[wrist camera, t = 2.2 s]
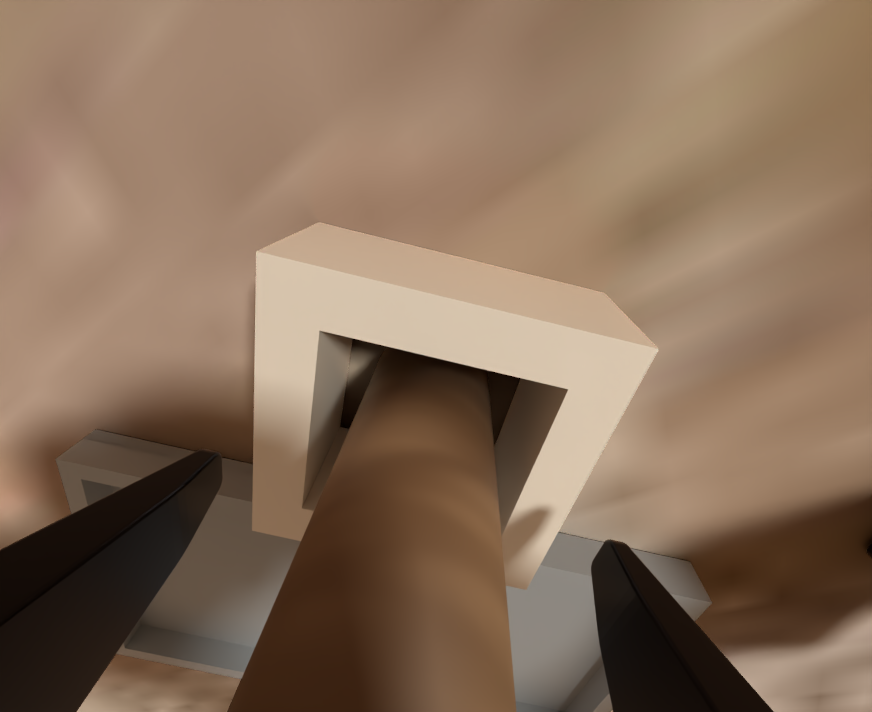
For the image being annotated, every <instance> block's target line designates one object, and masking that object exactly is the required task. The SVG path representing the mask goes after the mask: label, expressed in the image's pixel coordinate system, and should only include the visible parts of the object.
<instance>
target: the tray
mask: <svg viewBox="0 0 872 712" xmlns="http://www.w3.org/2000/svg"><path fill="white" fill-rule="evenodd" d="M194 452H195V451H191V450H186V449H182V448H177V447H173V446H168V445H164V444H159V443H155V442H150V441H146V440H141V439H137V438H132V437H128V436H123V435H119V434H114V433H110V432H105V431H101V430H96V429H95V430H94V431H93V432H91V433H90V434H89V435H87V436H86V437H84V438H83V439H82V440H80V441H79V442H78V443H76V444H75V445H74V446H72V447H71V448H70V449H68V450H67V451H66V452H64V453H63V454H61V455H60V456H59V457H57V458H56V463H57V466H58V470H59V473H60V476H61V480H62V483H63V487H64V490H65V494H66V497H67V501H68V504H69V507H70V511H71V514H72V513H74V512H76V511H78V510H80V509H82V508H84V507H86V506H88V505H90V504H92V503H94V502H96V501H98V500H100V499H102V498H104V497H106V496H108V495H110V494H112V493H114V492H116V491H118V490H120V489H122V488H124V487H126V486H128V485H130V484H132V483H134V482H136V481H138V480H140V479H142V478H144V477H146V476H148V475H150V474H152V473H154V472H156V471H158V470H160V469H162V468H164V467H166V466H168V465H170V464H172V463H174V462H176V461H178V460H180V459H182V458H184V457H186V456H188V455H190V454H192V453H194ZM222 473H223V480H222V484H221V487H220V489H219V491H218V493H217V495H216V497H215V498H214V500H213V502H212V504H211V506H210V508H209V509H208V511H207V513H206V515H205V517H204V519H203V520H202V522H201V524H200V526H199V528H198V530H197V531H196V533H195V535H194V537H193V539H192V541H191V542H190V544H189V546H188V548H187V549H186V551H185V553H184V555H183V556H182V558H181V559H180V561H179V562H178V564H177V565H176V567H175V568H174V570H173V571H172V573H171V574H170V576H169V577H168V578H167V580H166V581H165V583H164V584H163V586H162V587H161V589H160V590H159V592H158V593H157V595H156V596H155V598H154V599H153V600H152V602H151V603H150V605H149V606H148V608H147V609H146V611H145V612H144V614H143V615H142V617H141V618H140V619H139V621H138V622H137V624H136V625H135V627H134V628H133V630H132V631H131V633H130V634H129V636H128V637H127V639H126V640H125V641H124V643H123V644H122V646H121V647H120V649H119V650H118V652H117V653H116V654H119V655H124V656H128V657H133V658H138V659H143V660H148V661H153V662H158V663H163V664H168V665H173V666H178V667H183V668H188V669H193V670H198V671H203V672H208V673H213V674H218V675H223V676H228V677H232V678H237V679H242V676H243V674H244V672H245V669H246V667H247V665H248V662H249V660H250V658H251V655H252V653H253V651H254V649H255V646H256V644H257V642H258V639H259V637H260V635H261V632H262V630H263V628H264V625H265V623H266V621H267V618H268V616H269V614H270V612H271V609H272V607H273V605H274V602H275V600H276V598H277V595H278V593H279V591H280V588H281V586H282V584H283V582H284V579H285V577H286V575H287V572H288V570H289V568H290V565H291V563H292V561H293V558H294V556H295V554H296V551H297V549H298V547H299V545H300V542H301V541H298V540H293V539H288V538H284V537H279V536H274V535H270V534H265V533H261V532H256V531H252V497H253V464H249V463H244V462H240V461H235V460H231V459H226V458H222ZM603 543H604V542H599V541H595V540H590V539H586V538H581V537H577V536H572V535H568V534H563V533H559V532H558V533H557V535H556V537H555V539H554V541H553V542H552V544H551V546H550V548H549V550H548V551H547V553H546V555H545V557H544V559H543V561H542V562H541V564H540V566H539V568H538V570H537V571H536V573H535V575H534V577H533V579H532V581H531V582H530V584H529V586H528V588H527V590H524V589H519V588H515V587H510V586H506V595H507V606H508V618H509V630H510V642H511V653H512V665H513V677H514V688H515V700H516V712H611V711H612V710H613V708H612V704H611V699H610V694H609V689H608V684H607V679H606V675H605V670H604V665H603V660H602V655H601V650H600V645H599V638H598V631H597V622H596V613H595V604H594V594H593V585H592V576H591V564H592V561H593V559H594V557H595V556H596V554H597V553H598V551H599V550H600V548H601V546H602V545H603ZM630 549H631V548H630ZM631 550H632V551H633V552H634V553H635V554H636V555H637V556H638V558H639V559H640V560H641V561H642V562H643V563H644V564H645V566H646V567H647V568H648V569H649V570H650V571H651V572H652V574H653V575H654V576H655V577H656V578H657V579H658V580H659V582H660V583H661V584H662V585H663V586H664V587H665V588H666V590H667V591H668V592H669V593H670V594H671V595H672V596H673V598H674V599H675V600H676V601H677V602H678V603H679V604H680V606H681V607H682V608H683V609H684V610H685V611H686V612H687V614H688V615H689V616H690V617H691V618H692V619H693V620H694V622H695V621H696V620H697V619H698V618H699V617H700V615H701V614H702V613H703V612H704V611H705V610H706V609H707V608H708V607H709V606H710V605H711V604H712V601H711V600H710V598H709V596H708V594H707V592H706V590H705V588H704V587H703V585H702V583H701V581H700V579H699V577H698V576H697V574H696V572H695V570H694V568H693V566H692V564H691V563H690V562H689V561H685V560H680V559H676V558H671V557H667V556H662V555H658V554H653V553H649V552H644V551H640V550H635V549H631Z"/></svg>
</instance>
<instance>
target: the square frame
mask: <svg viewBox="0 0 872 712" xmlns="http://www.w3.org/2000/svg"><path fill="white" fill-rule="evenodd" d="M353 339H358V340H362V341H366V342H370V343H374V344H379V345H383V346H387V347H391V348H396V349H400V350H404V351H408V352H412V353H417V354H421V355H425V356H429V357H434V358H438V359H442V360H446V361H450V362H455V363H459V364H463V365H467V366H472V367H476V368H480V369H484V370H488V371H493V372H497V373H501V374H505V375H510V376H514V377H518V378H521V379H520V381H519V384H518V387H517V389H516V392H515V394H514V397H513V400H512V402H511V405H510V407H509V410H508V413H507V415H506V418H505V421H504V423H503V426H502V428H501V431H500V434H499V436H498V439H497V442H496V444H495V447H494V454H495V466H496V477H497V489H498V501H499V513H500V524H501V536H502V548H503V560H504V571H505V583H506V586H510V587H515V588H519V589H524V590H527V588H528V586H529V584H530V582H531V581H532V579H533V577H534V575H535V573H536V571H537V570H538V568H539V566H540V564H541V562H542V561H543V559H544V557H545V555H546V553H547V551H548V550H549V548H550V546H551V544H552V542H553V541H554V539H555V537H556V535H557V533H558V531H559V530H560V528H561V526H562V524H563V522H564V521H565V519H566V517H567V515H568V513H569V511H570V510H571V508H572V506H573V504H574V502H575V501H576V499H577V497H578V495H579V493H580V492H581V490H582V488H583V486H584V484H585V482H586V481H587V479H588V477H589V475H590V473H591V472H592V470H593V468H594V466H595V464H596V462H597V461H598V459H599V457H600V455H601V453H602V452H603V450H604V448H605V446H606V444H607V442H608V441H609V439H610V437H611V435H612V433H613V432H614V430H615V428H616V426H617V424H618V422H619V421H620V419H621V417H622V415H623V413H624V412H625V410H626V408H627V406H628V404H629V402H630V401H631V399H632V397H633V395H634V393H635V392H636V390H637V388H638V386H639V384H640V382H641V381H642V379H643V377H644V375H645V373H646V372H647V370H648V368H649V366H650V364H651V362H652V361H653V359H654V357H655V355H656V353H657V352H658V350H659V349H658V348H657V347H656V346H655V345H654V344H653V343H652V341H651V340H650V339H649V338H648V337H647V336H646V335H645V334H644V333H643V332H642V331H641V330H640V329H639V328H638V327H637V326H636V325H635V324H634V323H633V322H632V321H631V320H630V319H629V318H628V317H627V316H626V315H625V314H624V313H623V312H622V311H621V310H620V309H619V307H618V306H617V305H616V304H615V303H614V302H613V301H612V300H611V299H610V298H609V297H608V296H607V295H606V294H605V293H603V292H599V291H595V290H591V289H587V288H583V287H579V286H575V285H571V284H567V283H563V282H559V281H555V280H551V279H547V278H543V277H539V276H535V275H531V274H527V273H523V272H518V271H514V270H510V269H506V268H502V267H498V266H494V265H490V264H486V263H482V262H478V261H474V260H470V259H466V258H462V257H458V256H454V255H450V254H446V253H442V252H438V251H434V250H429V249H425V248H421V247H417V246H413V245H409V244H405V243H401V242H397V241H393V240H389V239H385V238H381V237H377V236H373V235H369V234H365V233H361V232H357V231H353V230H349V229H345V228H340V227H336V226H332V225H328V224H324V223H320V222H319V223H316V224H314V225H312V226H310V227H308V228H306V229H303V230H301V231H299V232H297V233H295V234H293V235H290V236H288V237H286V238H284V239H282V240H280V241H277V242H275V243H273V244H271V245H269V246H267V247H264V248H262V249H260V250H258V251H256V302H255V367H254V432H253V497H252V531H256V532H261V533H265V534H270V535H274V536H279V537H284V538H288V539H293V540H298V541H301V540H302V538H303V535H304V533H305V531H306V528H307V526H308V524H309V521H310V519H311V517H312V514H313V512H314V510H315V508H316V505H317V503H318V501H319V498H320V496H321V494H322V491H323V489H324V487H325V484H326V482H327V480H328V477H329V475H330V473H331V471H332V468H333V466H334V464H335V461H336V459H337V457H338V454H339V452H340V450H341V447H342V445H343V443H344V441H345V438H346V436H347V434H348V431H349V429H347V428H343V427H340V425H341V418H342V411H343V404H344V397H345V390H346V383H347V376H348V369H349V362H350V355H351V348H352V341H353Z"/></svg>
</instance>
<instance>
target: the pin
mask: <svg viewBox="0 0 872 712" xmlns="http://www.w3.org/2000/svg"><path fill="white" fill-rule="evenodd" d="M227 712H516V700H515V688H514V677H513V665H512V653H511V642H510V630H509V618H508V606H507V595H506V583H505V571H504V560H503V548H502V536H501V524H500V513H499V501H498V489H497V477H496V466H495V454H494V442H493V431H492V419H491V407H490V395H489V384H488V373H487V370H484V369H480V368H476V367H472V366H467V365H463V364H459V363H455V362H450V361H446V360H442V359H438V358H434V357H429V356H425V355H421V354H417V353H412V352H408V351H404V350H400V349H396V348H391V347H387V348H386V349H385V350H384V352H383V353H382V355H381V357H380V360H379V362H378V364H377V367H376V369H375V371H374V373H373V376H372V378H371V380H370V383H369V385H368V387H367V390H366V392H365V394H364V397H363V399H362V401H361V404H360V406H359V408H358V410H357V413H356V415H355V417H354V420H353V422H352V424H351V427H350V429H349V431H348V434H347V436H346V438H345V441H344V443H343V445H342V447H341V450H340V452H339V454H338V457H337V459H336V461H335V464H334V466H333V468H332V471H331V473H330V475H329V477H328V480H327V482H326V484H325V487H324V489H323V491H322V494H321V496H320V498H319V501H318V503H317V505H316V508H315V510H314V512H313V514H312V517H311V519H310V521H309V524H308V526H307V528H306V531H305V533H304V535H303V538H302V540H301V542H300V545H299V547H298V549H297V551H296V554H295V556H294V558H293V561H292V563H291V565H290V568H289V570H288V572H287V575H286V577H285V579H284V582H283V584H282V586H281V588H280V591H279V593H278V595H277V598H276V600H275V602H274V605H273V607H272V609H271V612H270V614H269V616H268V618H267V621H266V623H265V625H264V628H263V630H262V632H261V635H260V637H259V639H258V642H257V644H256V646H255V649H254V651H253V653H252V655H251V658H250V660H249V662H248V665H247V667H246V669H245V672H244V674H243V676H242V679H241V681H240V683H239V686H238V688H237V690H236V692H235V695H234V697H233V699H232V702H231V704H230V706H229V709H228V711H227Z"/></svg>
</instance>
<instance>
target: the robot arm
mask: <svg viewBox="0 0 872 712" xmlns="http://www.w3.org/2000/svg"><path fill="white" fill-rule="evenodd" d="M222 480H223V473H222V455H221V454H220V453H219V452H216V451H212V450H207V449H200V450H198V451H196V452H194V453H192V454H190V455H188V456H186V457H184V458H182V459H180V460H178V461H176V462H174V463H172V464H170V465H168V466H166V467H164V468H162V469H160V470H158V471H156V472H154V473H152V474H150V475H148V476H146V477H144V478H142V479H140V480H138V481H136V482H134V483H132V484H130V485H128V486H126V487H124V488H122V489H120V490H118V491H116V492H114V493H112V494H110V495H108V496H106V497H104V498H102V499H100V500H98V501H96V502H94V503H92V504H90V505H88V506H86V507H84V508H82V509H80V510H78V511H76V512H74V513H72V514H70V515H68V516H66V517H64V518H62V519H60V520H58V521H56V522H54V523H52V524H50V525H48V526H46V527H44V528H42V529H41V530H39V531H37V532H35V533H33V534H31V535H29V536H27V537H25V538H23V539H21V540H19V541H17V542H15V543H13V544H11V545H9V546H7V547H5V548H3V549H1V550H0V712H77V710H78V709H79V707H80V706H81V704H82V703H83V701H84V700H85V699H86V697H87V696H88V694H89V693H90V691H91V690H92V688H93V687H94V685H95V684H96V682H97V681H98V680H99V678H100V677H101V675H102V674H103V672H104V671H105V669H106V668H107V666H108V665H109V663H110V662H111V660H112V659H113V658H114V656H115V655H116V653H117V652H118V650H119V649H120V647H121V646H122V644H123V643H124V641H125V640H126V639H127V637H128V636H129V634H130V633H131V631H132V630H133V628H134V627H135V625H136V624H137V622H138V621H139V619H140V618H141V617H142V615H143V614H144V612H145V611H146V609H147V608H148V606H149V605H150V603H151V602H152V600H153V599H154V598H155V596H156V595H157V593H158V592H159V590H160V589H161V587H162V586H163V584H164V583H165V581H166V580H167V578H168V577H169V576H170V574H171V573H172V571H173V570H174V568H175V567H176V565H177V564H178V562H179V561H180V559H181V558H182V556H183V555H184V553H185V551H186V549H187V548H188V546H189V544H190V542H191V541H192V539H193V537H194V535H195V533H196V531H197V530H198V528H199V526H200V524H201V522H202V520H203V519H204V517H205V515H206V513H207V511H208V509H209V508H210V506H211V504H212V502H213V500H214V498H215V497H216V495H217V493H218V491H219V489H220V487H221V484H222ZM866 552H867V554H868V555H869V556H870V557H871V558H872V544H871V545H870V546H869V547H868V548H867V551H866ZM591 576H592V585H593V594H594V604H595V613H596V622H597V631H598V638H599V645H600V650H601V655H602V660H603V665H604V670H605V675H606V679H607V684H608V689H609V694H610V699H611V704H612V708H613V712H773V710H772V709H771V708H770V707H769V706H768V705H767V704H766V703H765V701H764V700H763V699H762V698H761V697H760V696H759V695H758V693H757V692H756V691H755V690H754V689H753V688H752V687H751V685H750V684H749V683H748V682H747V681H746V680H745V679H744V677H743V676H742V675H741V674H740V673H739V672H738V671H737V669H736V668H735V667H734V666H733V665H732V664H731V663H730V661H729V660H728V659H727V658H726V657H725V656H724V655H723V653H722V652H721V651H720V650H719V649H718V648H717V647H716V645H715V644H714V643H713V642H712V641H711V640H710V639H709V637H708V636H707V635H706V634H705V633H704V632H703V631H702V630H701V628H700V627H699V626H698V625H697V624H696V623H695V622H694V620H693V619H692V618H691V617H690V616H689V615H688V614H687V612H686V611H685V610H684V609H683V608H682V607H681V606H680V604H679V603H678V602H677V601H676V600H675V599H674V598H673V596H672V595H671V594H670V593H669V592H668V591H667V590H666V588H665V587H664V586H663V585H662V584H661V583H660V582H659V580H658V579H657V578H656V577H655V576H654V575H653V574H652V572H651V571H650V570H649V569H648V568H647V567H646V566H645V564H644V563H643V562H642V561H641V560H640V559H639V558H638V556H637V555H636V554H635V553H634V552H633V551H632V550H631V549H630V547H629V546H628V545H627V544H625V543H623V542H619V541H615V540H606V541H605V542H604V543H603V545H602V546H601V548H600V550H599V551H598V553H597V554H596V556H595V557H594V559H593V561H592V564H591Z"/></svg>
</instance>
